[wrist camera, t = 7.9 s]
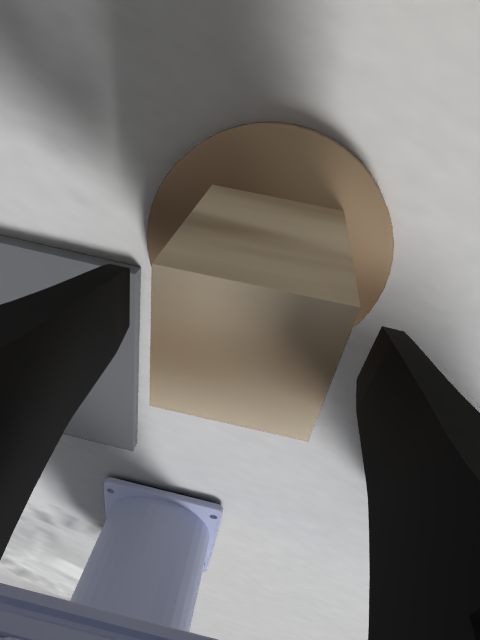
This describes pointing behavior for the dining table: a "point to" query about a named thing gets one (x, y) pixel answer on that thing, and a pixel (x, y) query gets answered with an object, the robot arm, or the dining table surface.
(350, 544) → the dining table surface
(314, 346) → the maple block
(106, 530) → the robot arm
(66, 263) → the tile
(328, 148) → the cork coaster
